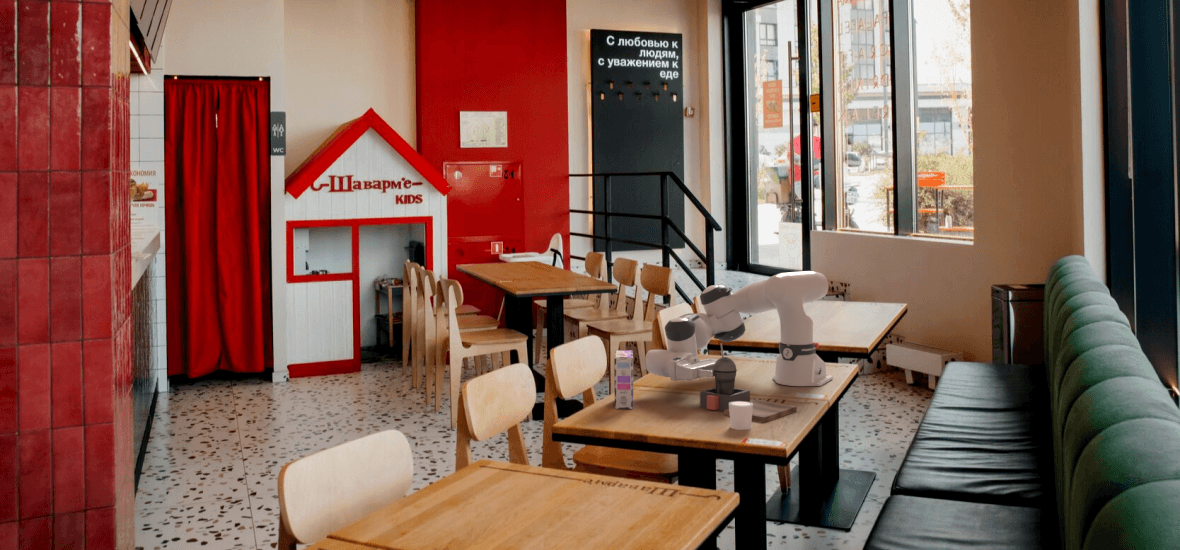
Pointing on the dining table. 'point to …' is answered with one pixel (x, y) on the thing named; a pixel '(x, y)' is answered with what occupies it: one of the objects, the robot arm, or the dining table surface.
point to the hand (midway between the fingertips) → (722, 371)
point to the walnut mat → (768, 410)
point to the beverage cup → (725, 375)
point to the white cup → (740, 415)
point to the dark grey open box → (722, 398)
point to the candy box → (623, 379)
